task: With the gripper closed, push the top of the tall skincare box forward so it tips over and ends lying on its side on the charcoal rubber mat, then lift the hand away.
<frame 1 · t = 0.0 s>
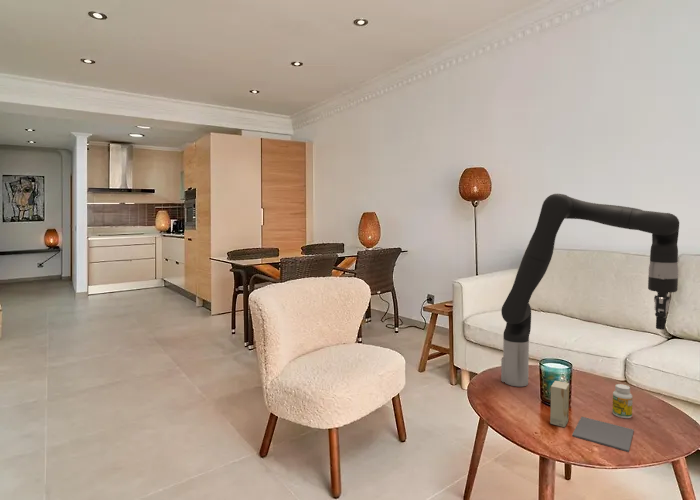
hand: (660, 326, 134), 29 cm above the table, tool pointing down, fingers open, 8 cm apart
supplement bottle: (621, 415, 136), on the table
skincare box: (559, 422, 133), on the table
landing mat: (603, 433, 125), on the table
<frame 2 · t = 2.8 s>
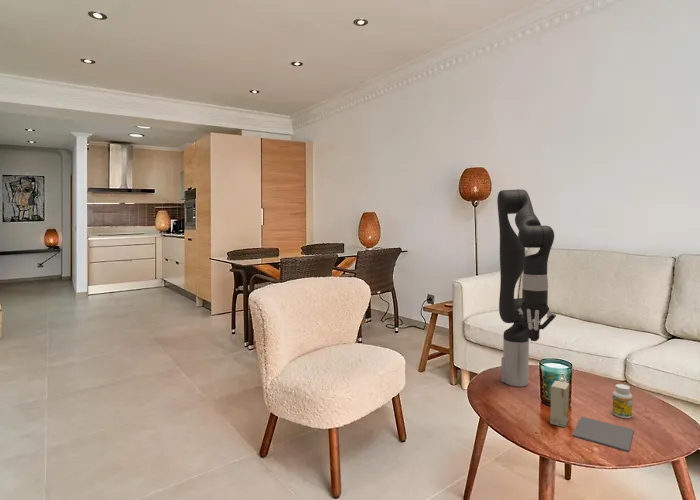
hand: (534, 340, 136), 25 cm above the table, tool pointing down, fingers closed
nothing on the table moved.
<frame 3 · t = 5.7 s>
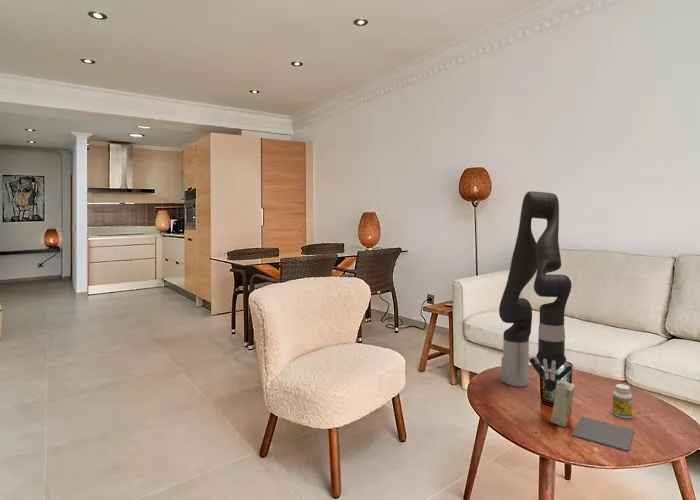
hand: (550, 390, 133), 10 cm above the table, tool pointing down, fingers closed
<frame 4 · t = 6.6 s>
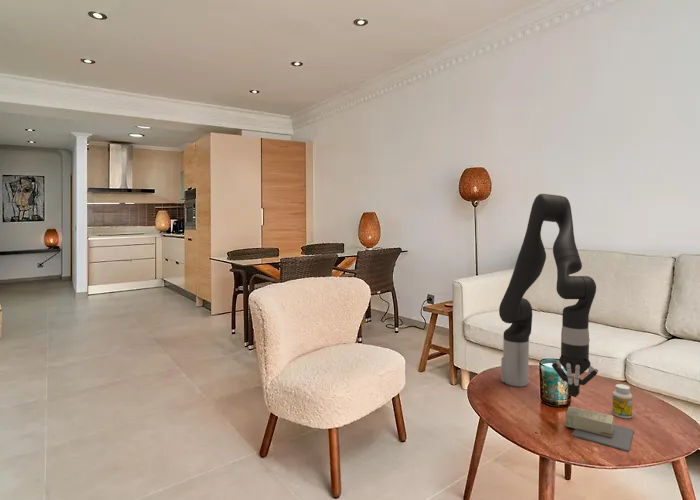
hand: (573, 395, 129), 10 cm above the table, tool pointing down, fingers closed
skincare box: (566, 415, 131), point 3 cm above the table, touching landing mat
everything else where it was.
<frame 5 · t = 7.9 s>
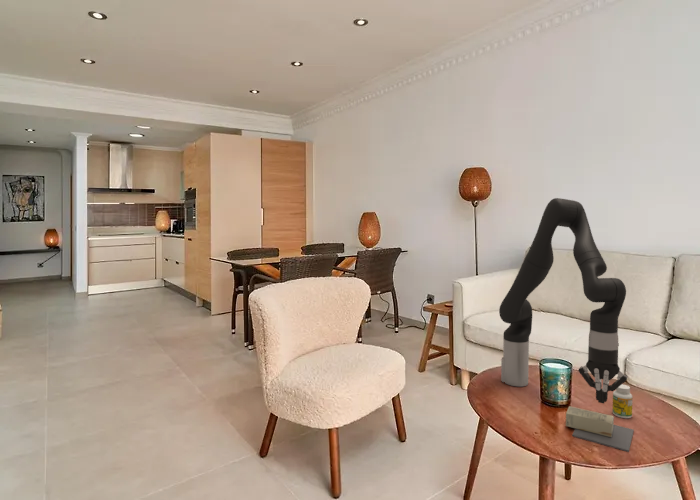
hand: (601, 402, 125), 10 cm above the table, tool pointing down, fingers closed
nothing on the table moved.
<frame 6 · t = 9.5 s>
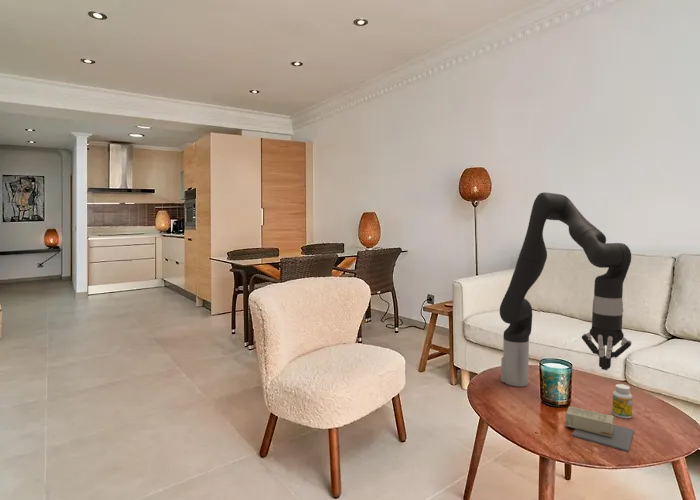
hand: (604, 369, 123), 20 cm above the table, tool pointing down, fingers closed
nothing on the table moved.
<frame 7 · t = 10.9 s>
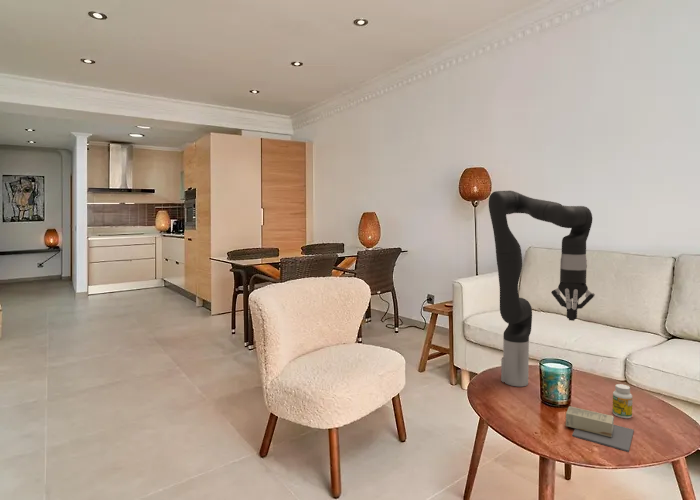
hand: (571, 320, 137), 31 cm above the table, tool pointing down, fingers closed
nothing on the table moved.
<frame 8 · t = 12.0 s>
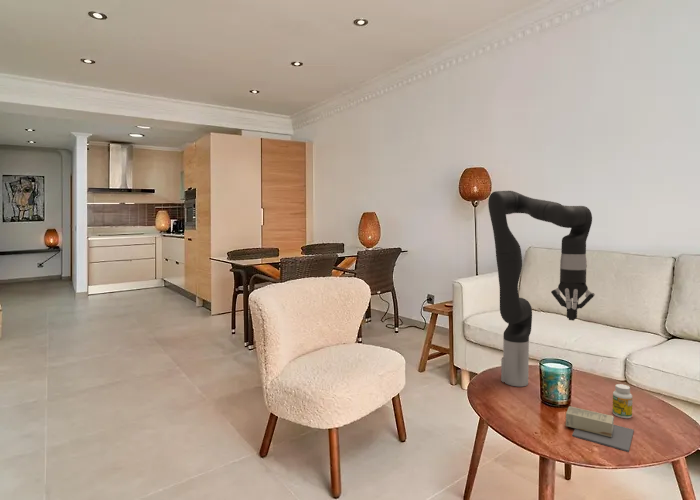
hand: (571, 319, 137), 31 cm above the table, tool pointing down, fingers closed
nothing on the table moved.
at the end: skincare box tilted 90°; skincare box touching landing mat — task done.
